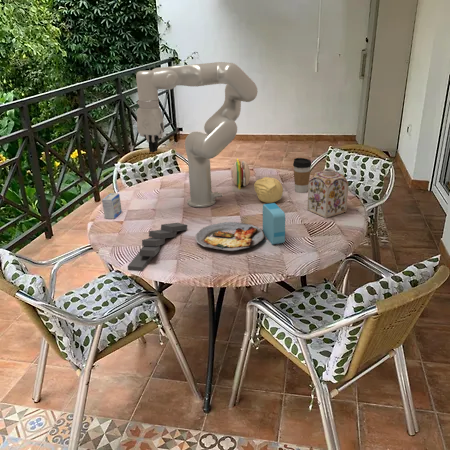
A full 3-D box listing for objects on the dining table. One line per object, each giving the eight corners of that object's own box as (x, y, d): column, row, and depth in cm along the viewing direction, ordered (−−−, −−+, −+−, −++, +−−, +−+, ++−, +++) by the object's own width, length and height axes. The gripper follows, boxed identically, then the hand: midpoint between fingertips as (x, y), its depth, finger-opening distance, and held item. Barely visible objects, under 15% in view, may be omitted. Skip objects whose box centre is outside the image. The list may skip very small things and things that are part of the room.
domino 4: (165, 229, 172) (149, 230, 163) (176, 231, 169) (160, 233, 161) (165, 234, 172) (148, 236, 163) (175, 236, 170) (159, 238, 161)
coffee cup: (297, 186, 218) (298, 156, 212) (313, 189, 213) (314, 158, 207) (289, 191, 212) (289, 160, 206) (305, 194, 207) (306, 163, 201)
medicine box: (114, 219, 188) (111, 199, 184) (104, 218, 188) (101, 199, 185) (122, 212, 195) (119, 193, 191) (112, 211, 196) (109, 192, 192)
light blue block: (285, 244, 161) (285, 213, 156) (273, 246, 160) (273, 214, 155) (273, 231, 172) (274, 201, 167) (262, 232, 171) (262, 203, 166)
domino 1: (151, 237, 165) (142, 240, 156) (164, 238, 165) (156, 240, 155) (151, 242, 166) (142, 245, 156) (164, 243, 165) (155, 246, 155)
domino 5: (177, 222, 177) (161, 224, 169) (187, 224, 175) (171, 227, 166) (176, 227, 178) (160, 229, 169) (187, 229, 175) (171, 232, 167)
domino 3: (139, 252, 156) (127, 266, 147) (152, 253, 155) (141, 267, 146) (139, 257, 157) (128, 271, 148) (153, 258, 156) (142, 272, 147)
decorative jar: (347, 212, 186) (350, 170, 179) (326, 219, 181) (328, 175, 173) (326, 204, 196) (329, 163, 188) (306, 210, 190) (308, 168, 183)
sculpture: (250, 200, 203) (250, 177, 198) (269, 194, 209) (270, 171, 205) (268, 207, 194) (268, 183, 190) (287, 200, 201) (288, 177, 197)
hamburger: (251, 188, 217) (251, 164, 213) (234, 189, 217) (233, 165, 212) (248, 181, 228) (248, 158, 224) (232, 181, 228) (232, 158, 223)
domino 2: (145, 244, 159) (139, 250, 149) (159, 245, 159) (154, 250, 149) (145, 250, 159) (139, 255, 150) (159, 250, 159) (154, 256, 149)
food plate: (272, 231, 171) (272, 223, 169) (250, 259, 152) (250, 250, 150) (213, 224, 181) (212, 216, 179) (185, 249, 162) (184, 240, 160)
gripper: (127, 105, 173) (132, 152, 181) (159, 107, 167) (163, 155, 174) (139, 102, 179) (144, 147, 187) (170, 103, 173) (174, 150, 180)
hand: (153, 151), depth 181 cm, fingers closed
